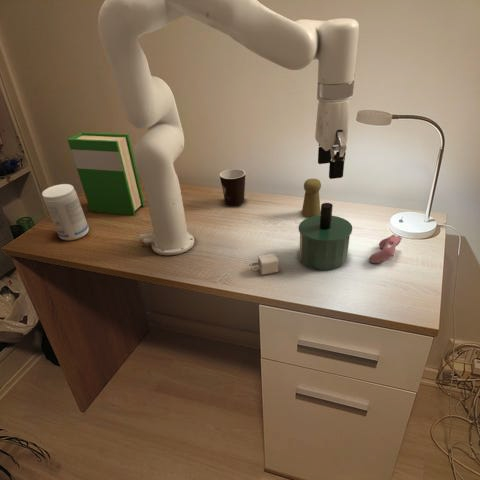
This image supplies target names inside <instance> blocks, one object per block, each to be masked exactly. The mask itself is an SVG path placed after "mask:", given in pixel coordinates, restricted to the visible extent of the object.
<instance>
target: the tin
mask: <svg viewBox="0 0 480 480" xmlns="http://www.w3.org/2000/svg"><path fill="white" fill-rule="evenodd" d="M350 236H351V234H350V235H349V236H348V237H347V238H345V239H343V240H340V241H336V242H317V241H312V240H309V239H307V238H305V237H303V236H302V235H301V234H300V233H299V252H298V253H299V254H298V256H299V260H300V262H301V263H302V265H304V266H306V267H307V268H310V269H313V270H317V271H332V270H335V269H339V268H341V267H343V266H344V265H345V264H346V263H347V260H348V253H349V245H350V238H351V237H350Z"/></svg>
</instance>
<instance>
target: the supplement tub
mask: <svg viewBox="0 0 480 480" xmlns="http://www.w3.org/2000/svg"><path fill="white" fill-rule="evenodd" d="M41 196H42V199H43V202H44V205H45V207H46V209H47V212H48V215H49V217H50V220H51V221H52V223H53V226H54V229H55V231H56V233H57V235H58V237H59V239H61V240H63V241H76V240H78V239H81V238H83V237H85V236H86V235H87V234H88V233H89V231H90V227H89V224H88V221H87V219H86V216H85V213H84V210H83V208H82V205H81V202H80V198H79V196H78V193H77V191H76V190H75V187H74V186H73V184H70V183H69V184H68V183H61V184H55V185H52V186H50V187H47V188H46V189H44V190H43V191H42V193H41Z"/></svg>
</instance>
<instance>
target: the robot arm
mask: <svg viewBox="0 0 480 480" xmlns="http://www.w3.org/2000/svg"><path fill="white" fill-rule="evenodd" d="M186 16H188V17H190V18H192V19H194V20H196V21H198V22H201V23H203V24H204V25H206V26H209V27H211V28H213V29H215V30H217V31H219V32H221V33H223V34H225V35H227V36H229V37H230V38H231V39H232V40H234V41H235V42H237V43H239V44H240V45H241V46H243V47H245V48H246V49H247V50H249V51H251V52H252V53H254V54H255V55H257V56H259V57H261V58H263V59H265V60H267V61H269V62H271V63H274V64H275V65H278V66H280V67H281V68H284V69H287V70H290V71H300V70H303V69H305V68H306V67H308V66H309V65H310V64H311V63H312V61H314V60H317V61H318V68H317V88H316V89H317V90H316V91H317V92H316V94H317V95H316V100H317V101H318V104H317V110H316V123H315V132H314V133H315V134H314V135H315V136H314V138H315V141H316V142H317V144H318V150H317V164H318V165H323V164H324V165H325V164H329V167H328V178H329V179H330V180H334V179H342V178H343V177H344V171H345V170H344V169H345V160H346V153H347V152H346V151H347V144H348V137H349V125H350V124H349V123H350V100H352V99H353V98H354V88H355V78H356V77H355V76H356V74H355V73H356V65H357V53H358V45H359V44H358V43H359V34H360V26H359V22H358V21H357V20H356V19H354V18H349V17H348V18H347V17H345V18H344V17H343V18H333V19H328V20H316V19H307V18H306V19H305V18H301V19H297V20H295V21H294V20H292V19H289V18H288V17H285V16H283V15H281V14H279V13H278V12H275V11H274V10H272V9H270V8H269V7H267V6H265V5H264V4H262V3H261V2H260V1H259V0H104V1H103V3H102V5H101V7H100V10H99V13H98V18H97V31H98V36H99V40H100V44H101V47H102V50H103V52H104V54H105V57H106V60H107V63H108V66H109V68H110V72H111V75H112V78H113V82H114V85H115V88H116V91H117V94H118V97H119V100H120V103H121V106H122V109H123V112H124V115H125V117H126V119H127V121H128V122H129V123H130V124H131V125H132V126H133V127H135V128H137V129H140V130H141V129H147V130H148V131H147V132H145V133H144V134H143V135H142V136H141V137H139V139H138V140H137V142H136V144H135V146H134V150H133V156H134V160H135V165H136V169H137V172H138V173H139V174H138V175H139V176H140V179H141V182H142V186H143V190H144V194H145V198H146V203H147V207H148V211H149V216H150V221H151V225H152V228H153V231H150V232H149V233H140V234H139V241H140V242H143V244H151V249H152V251H153V252H154V253H156V254H158V255H160V256H161V255H162V256H175V255H180V254H183V253H185V252H187V251H189V250H190V249H192V248H193V247H194V245H195V237H194V236H193V235H192V234H191V233H190V232H188V225H187V221H186V214H185V208H184V202H183V196H182V191H181V185H180V181H179V178H178V175H177V172H176V170H175V166H174V163H175V162H176V160H177V159H178V158H179V157H180V156H181V154H182V153H183V151H184V148H185V134H184V130H183V126H182V121H181V119H180V114H179V111H178V107H177V103H176V99H175V96H174V94H173V92H172V90H171V87H170V86H169V85H168V84H167V82H166V81H165V80H163V79H162V78H160V77H158V76H155V75H154V76H153V75H152V74H151V70H150V66H149V62H148V58H147V56H146V54H145V52H144V51H143V48H142V47H141V45H140V42H139V41H140V38H141V37H143V36H144V35H147V34H148V35H149V34H152V33H153V32H157V31H160V30H161V29H163V28H166V27H167V26H169V25H171V24H172V23H174V22H176V21H179V20H181V19H183V18H184V17H186ZM335 152H336V153H335Z"/></svg>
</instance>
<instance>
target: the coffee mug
mask: <svg viewBox="0 0 480 480" xmlns="http://www.w3.org/2000/svg"><path fill="white" fill-rule="evenodd" d="M219 179H220V184H221V188H222V193H223V197H224V202H225V205H226V206H227V207H240V206H242V205H243V204H244V203H245V191H246V190H245V189H246V171H245V170H243V169H240V168H230V169H225V170H223V171H220V173H219Z"/></svg>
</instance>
